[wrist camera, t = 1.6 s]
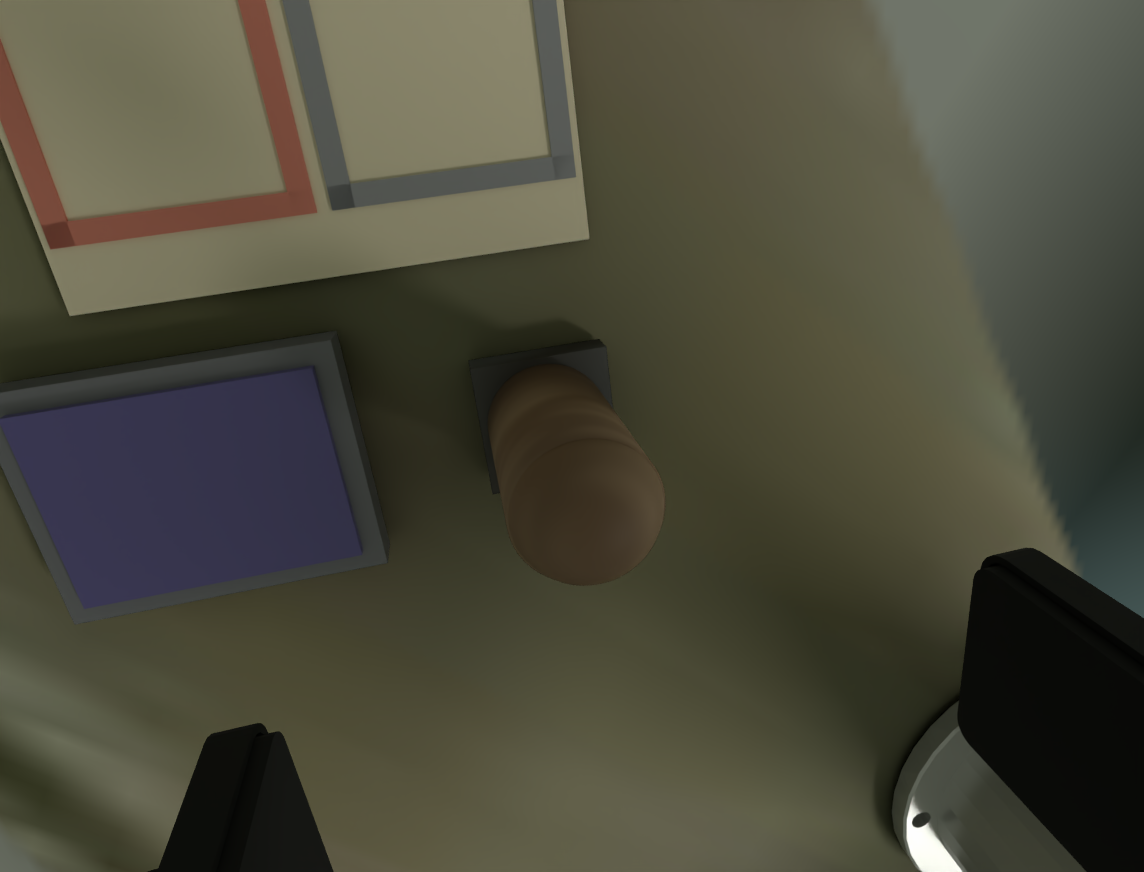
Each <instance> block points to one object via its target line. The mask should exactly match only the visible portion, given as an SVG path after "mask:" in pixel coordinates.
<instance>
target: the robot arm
mask: <svg viewBox="0 0 1144 872" xmlns="http://www.w3.org/2000/svg"><path fill="white" fill-rule="evenodd" d="M892 818H893V826H894V831H895V833H896V836H897V838H898V840H899V843H900V845H901V847H902V848H903V850H904V851H905V852H906V854H907V855H908V857H909V858H910V859H911V861H912V862H913V864H914V865H915V867H916V868H917V869H918V870H919V871H920V872H1144V618H1142V617H1141V616H1139V615H1138V614H1136V613H1135V612H1133V611H1131V610H1130V609H1129V608H1127V607H1125V606H1124V605H1122V604H1121V603H1119V602H1117V601H1116V600H1115V599H1113V598H1112V597H1110V596H1108V595H1107V594H1105V593H1104V592H1102V591H1101V590H1099V589H1097V588H1096V587H1094V586H1093V585H1091V584H1090V583H1088V582H1087V581H1085V580H1084V579H1082V578H1081V577H1079V576H1077V575H1076V574H1074V573H1073V572H1071V571H1070V570H1068V569H1067V568H1065V567H1064V566H1062V565H1060V564H1059V563H1057V562H1056V561H1054V560H1053V559H1051V558H1050V557H1048V556H1047V555H1045V554H1043V553H1042V552H1040V551H1038V550H1036V549H1034V548H1023V549H1018V550H1014V551H1010V552H1005V553H1001V554H996V555H992V556H989V557H987V558H986V559H985V560H984V561H983V563H982V566H981V569H980V570H978V571H977V572H976V573H975V576H974V579H973V587H972V595H971V604H970V612H969V621H968V629H967V637H966V646H965V654H964V662H963V671H962V679H961V687H960V696H959V701H957V702H956V703H955V704H953V705H952V706H951V707H950V708H948V709H947V710H946V711H945V712H944V713H943V714H942V715H941V716H940V717H939V718H938V719H937V720H936V721H935V722H934V723H933V724H932V725H931V726H930V727H929V729H928V730H927V731H926V732H925V734H924V735H923V736H922V738H921V739H920V740H919V741H918V743H917V744H916V745H915V747H914V748H913V750H912V752H911V754H910V755H909V757H908V759H907V761H906V763H905V764H904V766H903V768H902V770H901V773H900V776H899V779H898V782H897V785H896V788H895V791H894V798H893V806H892ZM148 872H333V869H332V866H331V864H330V861H329V858H328V855H327V853H326V850H325V847H324V845H323V842H322V839H321V836H320V834H319V831H318V828H317V825H316V823H315V820H314V817H313V815H312V812H311V809H310V806H309V804H308V801H307V798H306V796H305V793H304V790H303V787H302V785H301V782H300V779H299V776H298V774H297V771H296V768H295V766H294V763H293V760H292V757H291V755H290V752H289V749H288V746H287V744H286V741H285V739H284V736H283V734H282V733H281V732H273V733H269V734H268V732H267V730H266V728H265V726H264V725H263V724H262V723H257V724H252V725H248V726H244V727H239V728H235V729H230V730H226V731H222V732H217V733H213V734H211V735H210V736H209V737H207V739H206V741H205V743H204V746H203V748H202V751H201V754H200V756H199V759H198V762H197V765H196V767H195V770H194V773H193V776H192V778H191V781H190V784H189V786H188V789H187V792H186V795H185V797H184V800H183V803H182V805H181V808H180V811H179V814H178V816H177V819H176V822H175V825H174V827H173V830H172V833H171V835H170V838H169V841H168V844H167V846H166V849H165V852H164V855H163V857H162V860H161V863H160V865H159V868H158V869H154V870H151V871H148Z"/></svg>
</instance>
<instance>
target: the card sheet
mask: <svg viewBox="0 0 1144 872" xmlns="http://www.w3.org/2000/svg"><path fill="white" fill-rule="evenodd" d="M0 139H1V142H2V144H3V147H4V149H5V152H6V154H7V157H8V159H9V162H10V165H11V167H12V170H13V172H14V175H15V177H16V180H17V182H18V185H19V188H20V190H21V193H22V195H23V198H24V200H25V203H26V205H27V208H28V211H29V213H30V216H31V218H32V221H33V223H34V226H35V228H36V231H37V234H38V236H39V239H40V241H41V244H42V246H43V249H44V251H45V254H46V257H47V259H48V262H49V264H50V267H51V269H52V272H53V275H54V277H55V280H56V282H57V285H58V287H59V290H60V292H61V295H62V298H63V300H64V303H65V305H66V308H67V310H68V313H69V315H70V316H74V315H81V314H87V313H94V312H101V311H108V310H114V309H121V308H128V307H135V306H141V305H148V304H155V303H162V302H168V301H175V300H182V299H188V298H195V297H202V296H209V295H215V294H222V293H229V292H236V291H242V290H249V289H256V288H263V287H269V286H276V285H283V284H290V283H296V282H303V281H310V280H317V279H323V278H330V277H337V276H343V275H350V274H357V273H364V272H370V271H377V270H384V269H391V268H397V267H404V266H411V265H418V264H424V263H431V262H438V261H445V260H451V259H458V258H465V257H472V256H478V255H485V254H492V253H498V252H505V251H512V250H519V249H525V248H532V247H539V246H546V245H552V244H559V243H566V242H573V241H579V240H586V239H589V229H588V220H587V211H586V202H585V193H584V184H583V175H582V166H581V157H580V147H579V138H578V129H577V120H576V111H575V102H574V93H573V84H572V75H571V66H570V56H569V47H568V38H567V29H566V20H565V11H564V2H563V0H0Z"/></svg>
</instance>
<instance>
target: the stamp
mask: <svg viewBox="0 0 1144 872" xmlns="http://www.w3.org/2000/svg"><path fill="white" fill-rule="evenodd" d="M469 367H470V373H471V378H472V384H473V389H474V395H475V400H476V406H477V411H478V417H479V422H480V427H481V433H482V438H483V444H484V449H485V455H486V460H487V466H488V471H489V477H490V482H491V487H492V493H493V494H497V493H500V495H501V500H502V505H503V510H504V515H505V520H506V525H507V530H508V534H509V538H510V540H511V542H512V545H513V547H514V548H515V550H516V552H517V553H518V555H519V556H520V557H521V558H522V559H523V561H524V562H525V563H527V564H528V565H529V566H530V567H531V568H533V569H534V570H536V571H537V572H539V573H540V574H542V575H545V576H547V577H549V578H551V579H554V580H557V581H559V582H562V583H566V584H571V585H580V586H585V585H596V584H602V583H606V582H609V581H612V580H614V579H617V578H619V577H621V576H623V575H625V574H626V573H628V572H629V571H631V570H632V569H633V568H634V567H636V566H637V565H638V564H639V563H640V562H641V561H642V560H643V559H644V558H645V557H646V555H647V554H648V553H649V551H650V550H651V548H652V547H653V545H654V543H655V541H656V539H657V536H658V534H659V532H660V529H661V526H662V523H663V519H664V515H665V507H666V498H665V491H664V486H663V483H662V480H661V477H660V475H659V473H658V471H657V470H656V468H655V467H654V465H653V464H652V462H651V461H650V459H649V458H648V457H647V455H646V454H645V453H644V451H643V450H642V448H641V447H640V446H639V444H638V443H637V442H636V440H635V439H634V437H633V436H632V435H631V433H630V432H629V430H628V429H627V428H626V426H625V425H624V424H623V422H622V421H621V419H620V418H619V417H618V415H617V414H616V412H615V411H614V410H613V405H612V396H611V386H610V377H609V368H608V359H607V349H606V346H605V345H604V344H603V343H602V342H601V341H600V339H596V340H590V341H584V342H578V343H572V344H566V345H560V346H554V347H548V348H542V349H535V350H529V351H523V352H517V353H511V354H505V355H499V356H493V357H487V358H481V359H475V360H469Z"/></svg>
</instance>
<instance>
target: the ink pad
mask: <svg viewBox="0 0 1144 872" xmlns="http://www.w3.org/2000/svg"><path fill="white" fill-rule="evenodd" d="M0 465H1V467H2V469H3V471H4V474H5V476H6V478H7V480H8V482H9V484H10V486H11V489H12V491H13V493H14V495H15V497H16V499H17V501H18V504H19V506H20V508H21V510H22V512H23V514H24V517H25V519H26V521H27V523H28V525H29V527H30V529H31V532H32V534H33V536H34V538H35V540H36V542H37V545H38V547H39V549H40V551H41V553H42V555H43V557H44V560H45V562H46V564H47V566H48V568H49V570H50V572H51V575H52V577H53V579H54V581H55V583H56V585H57V588H58V590H59V592H60V594H61V596H62V598H63V600H64V603H65V605H66V607H67V609H68V611H69V613H70V616H71V618H72V620H73V622H74V624H80V623H85V622H90V621H95V620H101V619H106V618H111V617H116V616H121V615H126V614H131V613H136V612H141V611H146V610H151V609H156V608H161V607H167V606H172V605H177V604H182V603H187V602H192V601H197V600H202V599H207V598H212V597H217V596H222V595H228V594H233V593H238V592H243V591H248V590H253V589H258V588H263V587H268V586H273V585H278V584H283V583H288V582H294V581H299V580H304V579H309V578H314V577H319V576H324V575H329V574H334V573H339V572H344V571H349V570H355V569H360V568H365V567H370V566H375V565H380V564H385V563H388V556H389V548H390V542H389V538H388V534H387V530H386V526H385V522H384V518H383V514H382V510H381V506H380V502H379V498H378V494H377V490H376V486H375V482H374V478H373V474H372V470H371V466H370V462H369V458H368V454H367V450H366V446H365V442H364V438H363V434H362V430H361V426H360V422H359V418H358V414H357V410H356V406H355V402H354V398H353V394H352V390H351V387H350V383H349V379H348V375H347V371H346V367H345V363H344V359H343V355H342V351H341V347H340V343H339V339H338V335H337V331H331V332H325V333H318V334H312V335H305V336H299V337H293V338H286V339H280V340H274V341H267V342H261V343H255V344H248V345H242V346H236V347H229V348H223V349H216V350H210V351H204V352H197V353H191V354H185V355H178V356H172V357H166V358H159V359H153V360H146V361H140V362H134V363H127V364H121V365H115V366H108V367H102V368H96V369H89V370H83V371H77V372H70V373H64V374H57V375H51V376H45V377H38V378H32V379H26V380H19V381H13V382H7V383H0Z"/></svg>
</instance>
